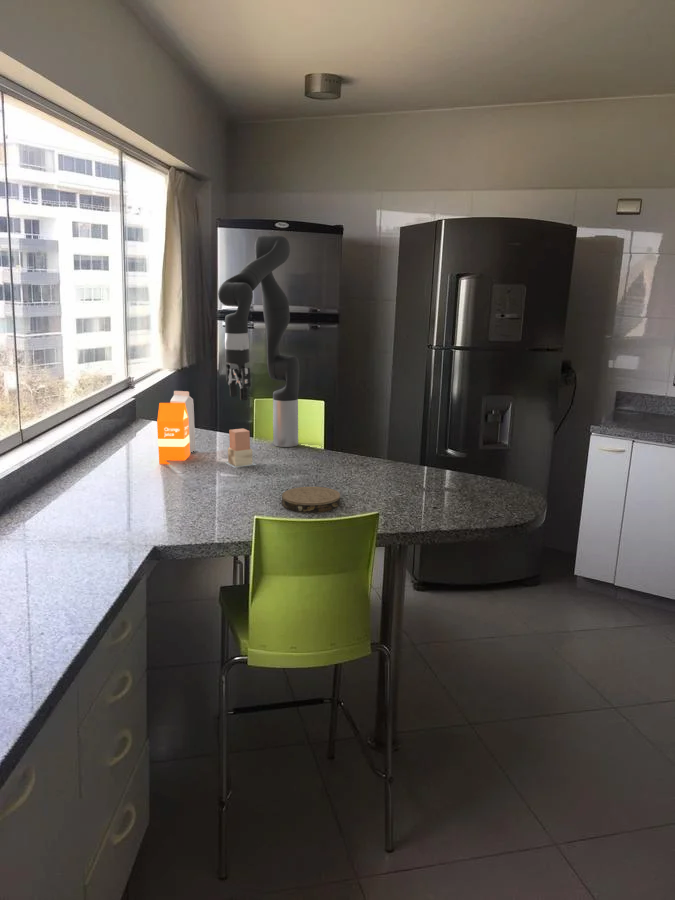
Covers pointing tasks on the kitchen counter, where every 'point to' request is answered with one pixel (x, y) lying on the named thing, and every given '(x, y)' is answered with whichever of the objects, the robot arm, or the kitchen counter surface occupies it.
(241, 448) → the terracotta block
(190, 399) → the milk
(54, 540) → the kitchen counter surface
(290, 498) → the tambourine
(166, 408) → the orange juice
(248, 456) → the birch block
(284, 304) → the robot arm
